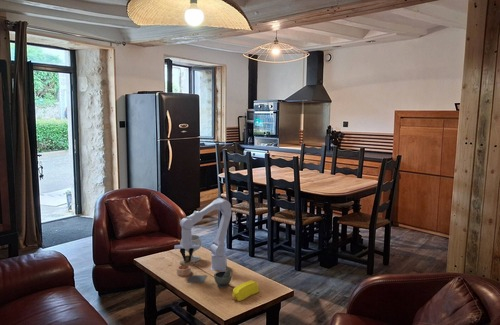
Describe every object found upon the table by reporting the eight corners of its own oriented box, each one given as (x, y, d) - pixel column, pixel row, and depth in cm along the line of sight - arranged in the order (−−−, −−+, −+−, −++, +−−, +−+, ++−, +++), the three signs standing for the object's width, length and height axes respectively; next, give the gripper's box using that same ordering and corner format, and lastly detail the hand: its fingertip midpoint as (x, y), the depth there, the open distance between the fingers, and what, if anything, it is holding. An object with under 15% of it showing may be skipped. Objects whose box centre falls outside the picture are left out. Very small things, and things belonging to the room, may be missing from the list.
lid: (197, 262, 227) (197, 254, 226) (189, 267, 219) (189, 259, 219) (185, 259, 231) (185, 252, 230) (177, 264, 223) (176, 257, 222)
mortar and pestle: (210, 286, 212) (210, 266, 210) (222, 280, 219) (221, 261, 217) (225, 292, 205) (225, 271, 203) (237, 286, 212) (236, 265, 210)
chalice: (199, 263, 244) (199, 241, 242) (178, 263, 244) (177, 241, 242) (203, 255, 257) (202, 234, 256) (183, 255, 258) (182, 234, 256)
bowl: (192, 270, 233) (192, 264, 232) (188, 276, 225) (188, 270, 224) (179, 270, 234) (178, 264, 233) (175, 276, 225) (174, 269, 225)
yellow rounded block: (262, 292, 205) (252, 287, 210) (262, 280, 204) (252, 276, 210) (238, 304, 192) (228, 299, 198) (238, 291, 192) (228, 287, 197)
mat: (207, 276, 225) (207, 275, 225) (203, 284, 215) (203, 283, 215) (190, 276, 226) (190, 275, 226) (186, 283, 216) (186, 282, 216)
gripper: (199, 236, 227) (200, 257, 229) (175, 236, 227) (176, 258, 229) (198, 240, 220) (198, 262, 222) (173, 240, 220) (174, 262, 222)
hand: (187, 260), depth 225 cm, fingers closed on lid, 3 cm apart
